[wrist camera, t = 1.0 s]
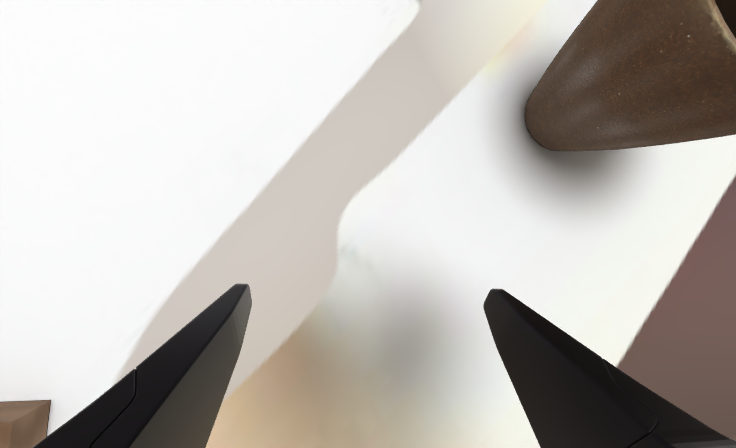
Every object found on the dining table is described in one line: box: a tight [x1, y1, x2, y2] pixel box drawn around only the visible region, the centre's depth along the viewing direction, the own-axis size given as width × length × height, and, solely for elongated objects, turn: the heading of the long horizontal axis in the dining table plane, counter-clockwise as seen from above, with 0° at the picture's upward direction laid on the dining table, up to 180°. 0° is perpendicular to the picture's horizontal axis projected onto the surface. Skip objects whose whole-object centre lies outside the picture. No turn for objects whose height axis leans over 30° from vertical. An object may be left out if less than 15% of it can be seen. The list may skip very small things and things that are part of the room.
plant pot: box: [525, 0, 736, 151], centre depth 21 cm, size 15×15×16 cm
